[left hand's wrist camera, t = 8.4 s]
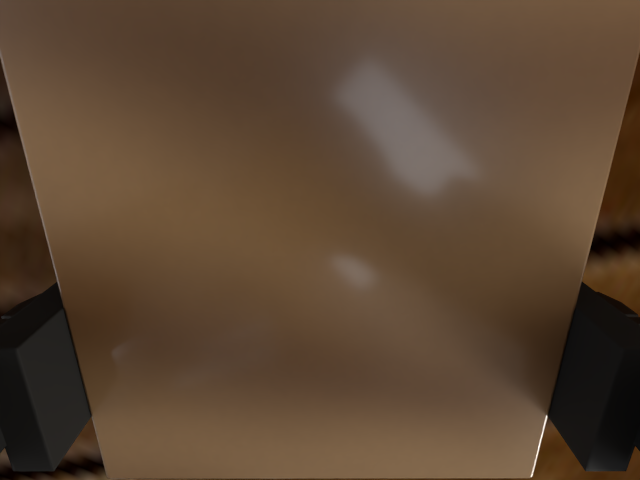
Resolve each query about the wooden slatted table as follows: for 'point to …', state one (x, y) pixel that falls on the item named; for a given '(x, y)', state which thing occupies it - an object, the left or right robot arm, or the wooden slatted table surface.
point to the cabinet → (319, 222)
